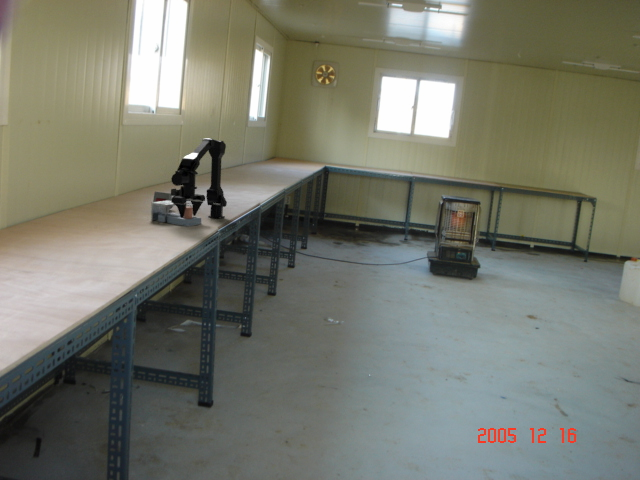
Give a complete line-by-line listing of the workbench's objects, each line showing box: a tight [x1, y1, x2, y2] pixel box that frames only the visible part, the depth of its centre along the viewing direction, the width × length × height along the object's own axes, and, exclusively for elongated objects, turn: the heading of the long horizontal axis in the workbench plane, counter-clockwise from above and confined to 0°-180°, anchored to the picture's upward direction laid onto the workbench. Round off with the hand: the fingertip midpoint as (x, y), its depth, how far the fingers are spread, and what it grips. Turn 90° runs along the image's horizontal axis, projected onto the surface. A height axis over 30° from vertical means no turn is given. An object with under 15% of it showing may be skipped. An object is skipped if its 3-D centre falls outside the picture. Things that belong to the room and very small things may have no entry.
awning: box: [150, 200, 176, 224], centre depth 285 cm, size 13×9×9 cm
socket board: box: [157, 212, 202, 227], centre depth 283 cm, size 10×18×3 cm, turn 64°
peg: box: [184, 206, 193, 219], centre depth 280 cm, size 4×4×8 cm
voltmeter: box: [152, 191, 193, 212], centre depth 316 cm, size 27×11×10 cm, turn 107°
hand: (188, 216), depth 280 cm, fingers open, 9 cm apart
